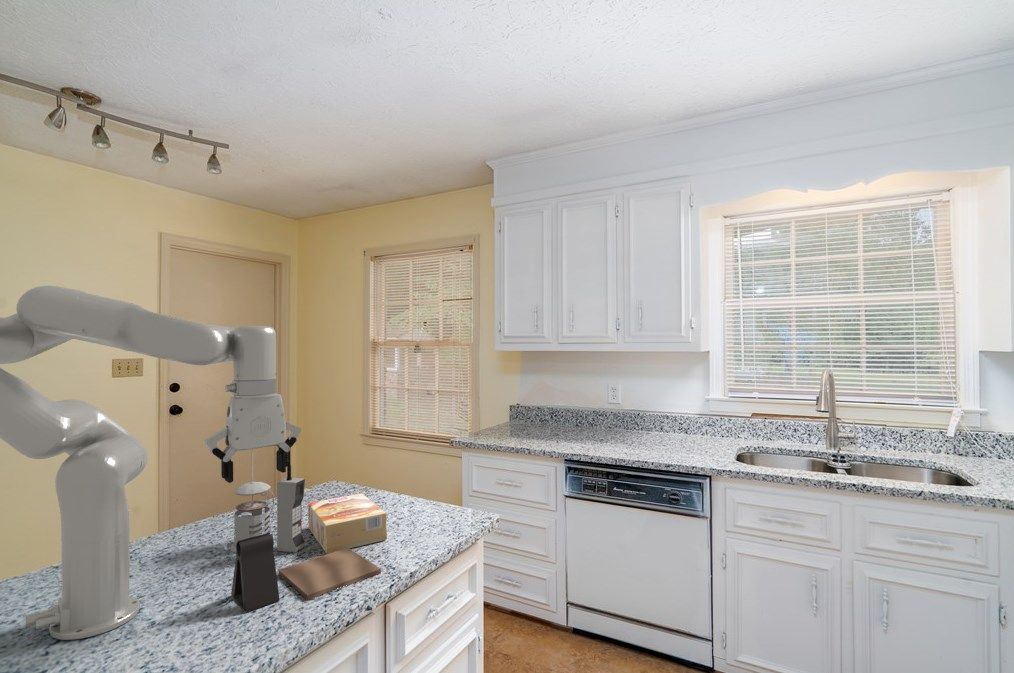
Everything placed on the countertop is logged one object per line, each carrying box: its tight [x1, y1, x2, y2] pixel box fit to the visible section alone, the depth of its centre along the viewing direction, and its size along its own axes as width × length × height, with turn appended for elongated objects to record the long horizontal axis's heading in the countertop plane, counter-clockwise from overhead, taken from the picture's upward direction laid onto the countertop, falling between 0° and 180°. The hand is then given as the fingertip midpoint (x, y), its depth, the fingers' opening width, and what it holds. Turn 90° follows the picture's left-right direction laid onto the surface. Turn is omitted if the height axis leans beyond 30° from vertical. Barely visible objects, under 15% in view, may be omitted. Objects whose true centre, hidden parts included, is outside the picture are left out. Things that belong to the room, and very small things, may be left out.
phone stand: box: [230, 532, 280, 614], centre depth 98 cm, size 9×6×12 cm, turn 45°
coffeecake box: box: [307, 493, 388, 555], centre depth 130 cm, size 15×7×20 cm
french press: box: [229, 449, 275, 553], centre depth 124 cm, size 10×12×25 cm
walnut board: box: [278, 548, 382, 601], centre depth 108 cm, size 16×15×1 cm
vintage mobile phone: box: [276, 447, 306, 554], centre depth 121 cm, size 4×5×25 cm
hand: (255, 476), depth 98 cm, fingers open, 9 cm apart
